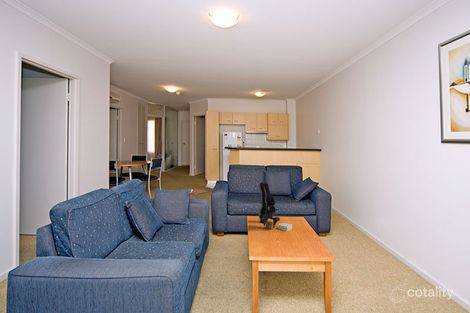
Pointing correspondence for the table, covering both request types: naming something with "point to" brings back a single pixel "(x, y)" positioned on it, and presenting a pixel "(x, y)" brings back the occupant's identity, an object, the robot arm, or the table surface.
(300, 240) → the table surface
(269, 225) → the walnut block
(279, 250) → the table surface
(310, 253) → the table surface
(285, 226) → the sage base block
